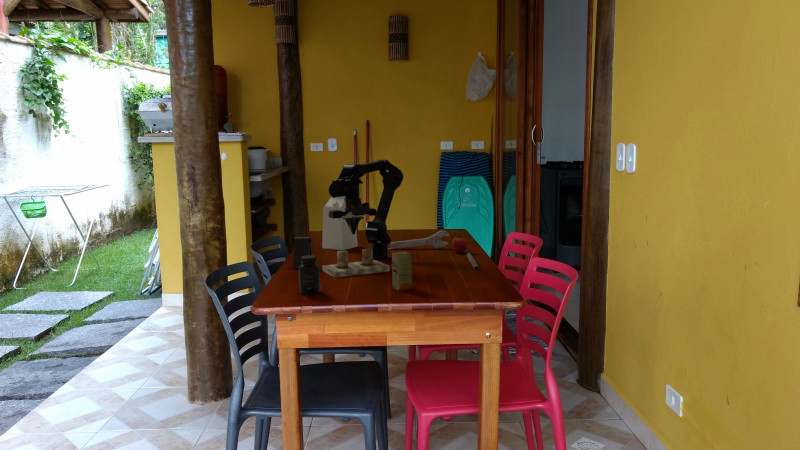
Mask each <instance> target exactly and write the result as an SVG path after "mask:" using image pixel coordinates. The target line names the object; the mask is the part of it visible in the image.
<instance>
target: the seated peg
mask: <svg viewBox="0 0 800 450" xmlns="http://www.w3.org/2000/svg"><path fill="white" fill-rule="evenodd" d="M361 254H362V255H361V256H362V257H361V258H362V259H361V261H362V266H373V260H374V259H373V249H371V248H370V247H368V248H367V247H366V248H362V249H361Z"/></svg>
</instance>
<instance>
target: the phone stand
mask: <svg viewBox="0 0 800 450" xmlns="http://www.w3.org/2000/svg"><path fill="white" fill-rule="evenodd" d="M293 241H294V242H293V243H294V247H293V248H294V251H293V264H292V265H293V267H292V268H293V270H299V266H300V265H302V263H301V257H303V256H314V255H313V248H312V238H311V236H295V237H294V240H293Z"/></svg>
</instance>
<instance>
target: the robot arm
mask: <svg viewBox="0 0 800 450" xmlns="http://www.w3.org/2000/svg"><path fill="white" fill-rule="evenodd" d="M377 171H379V175H380V176H381V177H382V185H383V188H382V192H381V196H380V199H379V202H378V205H377V209H376V208H374V207H371V206H370V203H369V202H363V203H362V198H361V197H360V185H362V184H364V182H363V180H361V178H362V177H364V176H365V175H366V174H369V173H373V172H377ZM403 179H404V173H403V171H402V170H401V169H400V168H398V166H396V165H395V164H392V163H391V162H390V161H389V160H388V159H378V160H374V161H369V162H365V163H364V162H363V163H361V164H359V163H358V164H355V163H354V164H353V163H346V164H344V165H343V166H342V169H341V172H339V175H338V177H337V179H332V180H331V183H330V184H329V186H328V193H329V195H330V198H331V197H333V198H335V197H345V198H344V201H345V205H346V208H345V211H341V210H330V211H329V217H330V218H343V219H345V220H346V222H347V224H348V226H349V228H350V231H351V233H352V234H355V232H356V233H357V229H358V226H359V223H360V221H361V220H362V219H364V217H365V215H368V216H370V217H373V216H374V218H373V220H368V221H367V224H366V227H365V236H366V241H367V243H368V244H370V247H369V248H371V249H373V260H381V259H383V260H384V259H390V256H389V255H388V254H389V253H388V252H389V251H388V249H387V248H388V245H390V243H391V241H392V238H391V237H390V236H389V234H388V233H387V232H388V226H387V218H388V215H389V211H390V208H391V205H392V202H393V198H394V195H395V191H396V190H397V189H398V188H399V187H400V186H401V185H402V182H403ZM352 215H354V216H352ZM342 216H344V217H342ZM363 216H364V217H363Z"/></svg>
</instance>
